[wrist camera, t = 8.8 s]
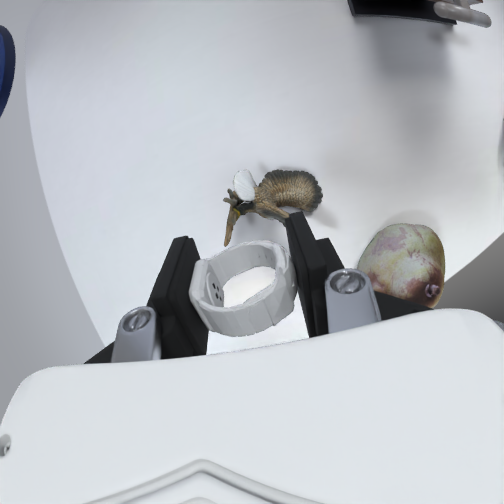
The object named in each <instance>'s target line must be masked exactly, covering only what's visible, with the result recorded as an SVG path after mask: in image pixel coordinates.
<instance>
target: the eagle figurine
mask: <svg viewBox="0 0 504 504" xmlns="http://www.w3.org/2000/svg"><path fill="white" fill-rule="evenodd" d="M233 184H234V189H235V191H236V192H235V191H233V192H232V190H230V189H228V193H229V195H230V199H229V198H224V199H223V201H225V202H228V203H230V211H229V215H228V219H227V226H226V236H225V241H224V246H225V247H226V246H227V245H228V244H229V242H230V239H231V235H232V231H233V225H235V223H236V221H237V220H238V218H239V216H240V215H245V214H246V213H248V212H253V213H258V214H259V215H260V216H262V217H264V218H267V219H269V220H273V219H277V220H279V222H281V223H283V225H284V227H286V226H285V220H284V218H289V213H287V212H285V211H283V210H282V209H279V208H278V207H283V206H290V207H297V208H301V209H303V210H306V211H308V212H313V209H314V208H317V206H318V203H321V201H322V200H321V198H322V197H323V195H322V193H321V190H322V189H321V187H319V186H318V185H317V184H318V181H316V180H315V177H314V176H312V175H311V174H309V173H308V172H304V171H293V172H292V171H283V170H274V171H272V172H268V173H267V174H266V175H265V178H264V179H263V180H262V183H260V184H259V186H257V185H256V184H255V182H254V180H253V178H252V176H251V174H250V172H249V171H248V170H243V171H238V172H237V174H236V175H235V176H234V180H233ZM244 201H245V202H250V203H243V202H244ZM241 203H243V204H241ZM240 204H241V205H240Z"/></svg>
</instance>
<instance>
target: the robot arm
mask: <svg viewBox="0 0 504 504" xmlns="http://www.w3.org/2000/svg"><path fill="white" fill-rule="evenodd" d="M284 220H285V226H286V231H287V237H288V243H289V248H290V254H291V260H292V261H293V263H294V267H295V270H296V277H297V284H298V285H297V290H298V294H299V298H300V302H301V306H302V310H303V314H304V318H305V322H306V326H307V330H308V335H309V338H307V339H302V340H297V341H292V342H287V343H282V344H276V345H270V346H265V347H259V348H252V349H246V350H240V351H233V352H226V353H218V354H210V355H206V351H207V342H208V333H209V330H208V329H207V327H206V326H205V324H204V322H203V321H202V319H201V318H200V316H199V314H198V313H197V311H196V309H195V308H194V306H193V304H192V302H191V300H190V299H189V297H190V296H189V288H190V284H191V280H192V275H193V271H194V267H195V263H196V262H197V261H199V260H200V256H199V253H198V251H197V248H196V245H195V242H194V240H193V238H188V236H183V237H178V238H174V239H173V242H172V244H171V246H170V249H169V251H168V254H167V256H166V259H165V261H164V263H163V266H162V268H161V271H160V273H159V274H158V277H157V279H156V282H155V285H154V287H153V290H152V292H151V295H150V298H149V300H148V303H147V306H143V307H138V308H135V309H133V310H131V311H129V312H128V313H127V314H126V315H124V316H123V318H122V319H121V320H120V323H119V326H118V330H117V334H116V339H115V341H114V342H112V343H111V344H110V345H108V346H107V347H106V348H104V349H103V350H102V351H100V352H99V353H97V354H96V355H95V356H93V357H92V358H91V359H89V360H88V361H87V362H85V363H84V364H77V365H62V366H54V367H50V368H46V369H43V370H40V371H38V372H35V373H33V374H32V375H30V376H28V377H27V378H26V379H24V380H23V381H22V382H21V384H20V385H19V387H18V389H17V390H16V392H15V394H14V396H13V398H12V400H11V402H10V404H9V406H8V408H7V410H6V413H5V415H4V417H3V420H2V422H1V425H0V504H504V324H502V323H501V322H499V321H495V320H491V319H490V318H489V317H487V316H485V315H484V314H482V313H480V312H477V311H472V310H466V309H437V310H434V309H432V308H430V307H427V306H424V305H421V304H417V303H414V302H411V301H407V300H404V299H401V298H398V297H394V296H391V295H388V294H385V293H381V292H378V291H375V290H373V287H372V284H371V281H370V278H369V277H368V275H367V274H366V273H364V272H363V271H360V270H357V269H352V268H350V269H345V268H344V266H343V264H342V262H341V260H340V258H339V256H338V255H337V253H336V251H335V249H334V247H333V245H332V243H331V242H330V240H329V238H324V239H319V240H315V238H314V235H313V233H312V231H311V229H310V227H309V225H308V223H307V220H306V218H305V216H304V214H303V212H302V211H301V212H296V213H291V214H289V218H284Z"/></svg>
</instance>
